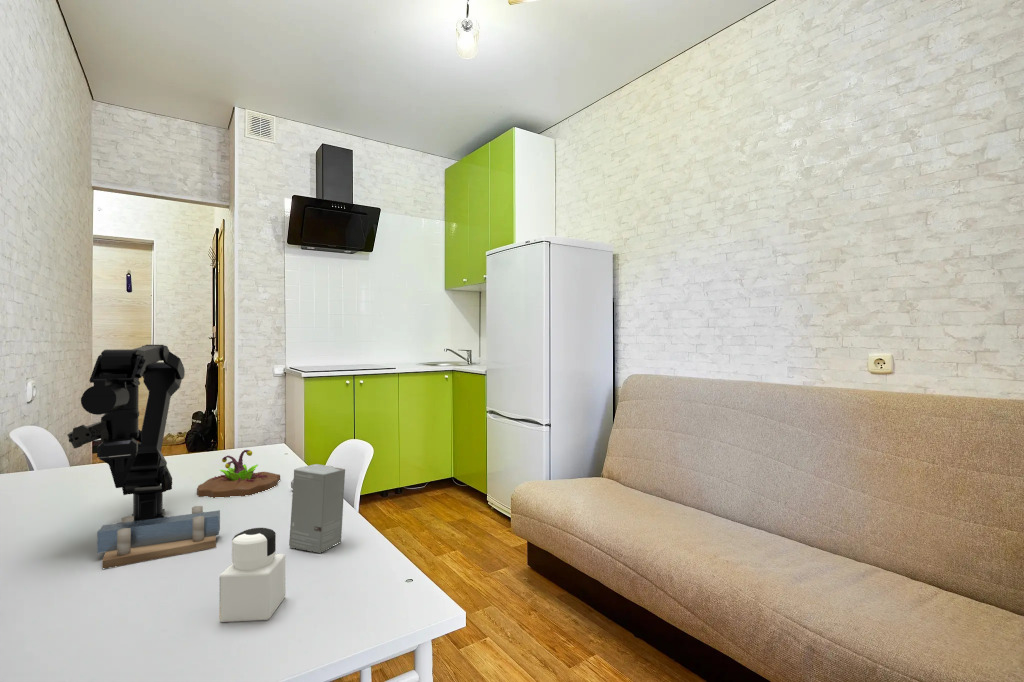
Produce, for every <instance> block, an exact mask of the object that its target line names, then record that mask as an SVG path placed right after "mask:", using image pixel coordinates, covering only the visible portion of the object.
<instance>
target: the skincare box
mask: <svg viewBox="0 0 1024 682" xmlns="http://www.w3.org/2000/svg"><path fill="white" fill-rule="evenodd" d="M345 478H346V468H342V467H336V466H334V465H326V464H325V465H324V464H319V463H315V464H310V465H307V466H301V467H297V468H295V469H293V479H294V480H293V479H292V480H293V489H292V499H291V509H290V510H291V511H290V525H289V527H290V529H289V542H288V543H289V544H288V545H289V548H291V549H295V548H296V549H295V550H302V551H306V550H307V551H306V552H312V551H313V553H317V554H322V553H323V551H324V550H326V549H328V548H330V547H332V546H333V545H335V544H337V543H339V542H341V543H342V533H343V531H342V530H343V512H344V494H345V493H344V492H345V482H346V479H345ZM332 548H333V547H332ZM330 549H331V548H330ZM328 550H329V549H328ZM326 551H327V550H326ZM321 552H322V553H321ZM324 552H325V551H324Z"/></svg>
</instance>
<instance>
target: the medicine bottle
mask: <svg viewBox="0 0 1024 682" xmlns="http://www.w3.org/2000/svg"><path fill="white" fill-rule="evenodd" d="M276 535H277V533H276V532H275V531H274V530H273V529H271V528H267V527H253V528H249V529H245V530H242V531H241V532H238V533H237V534H235V535H234V537H233V538H232V539H231V565H229V566H228V567H227V568H226V569H225V570H224V571H223V572H222V573H221V574H219V622H221V623H232V622H233V623H234V622H252V621H268V620H270V618H271V617H272V616H273V614H275V611H276V610H277V609H278V608H279V606H280V605H281V604H282V602H283V601H284V599H285V597H286V554H285V553H276V548H277V545H276V542H277V541H276V540H277V539H276Z"/></svg>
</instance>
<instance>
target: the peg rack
mask: <svg viewBox="0 0 1024 682" xmlns="http://www.w3.org/2000/svg"><path fill="white" fill-rule="evenodd" d="M203 511H204V507H203V505H197V506H196V505H195V506H192V507H191V514H195V513H203ZM132 521H134V516H131V515H128V516H123V517H122V518H121V522H120V523H124V522H132ZM215 547H216V548H217V538H216V536H210V537H204V516H198V517H194V518H193V539H189V540H182V541H175V542H169V543H162V544H155V545H148V546H141V547H134V548H131V528H123V529H120V530H118V531H117V550H114V551H107V552H104V556H103V558H102V560H101V561H102V563H101V564H102V565H101V567H102V568H101V569H102V570H104V569H103V568H107V569H110V568H109V567H112V568H116V567H115V566H117V567H121V566H128V565H133V564H137V563H144V562H147V561H152V560H158V559H163V558H167V557H169V558H170V557H174V556H179V555H184V554H191V553H194V552H195V553H196V552H200V550H201V551H205V549H206V550H210V549H216V548H215ZM127 564H128V565H127Z"/></svg>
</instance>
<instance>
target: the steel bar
mask: <svg viewBox="0 0 1024 682" xmlns="http://www.w3.org/2000/svg"><path fill="white" fill-rule="evenodd" d="M198 516H204V537H210V536H215V537H216V536H219V535H220V530H221V510H220V509H218V510H213V511H204V512H203V513H195V514H192V513H188V514H180V515H173V516H164V517H163V518H156V519H148V520H140V521H132V522H124V523H121V522H117V523H110V524H103V525H101V527H100V528H99V530H98V531H97V533H96V534H97V541H96V543H97V548H96V549H97V550H96V551H97V554H99V553H105V552H107V551H114V550H117V531H118V530H120V529H123V528H131V548H134V547H141V546H148V545H155V544H162V543H169V542H175V541H182V540H189V539H193V518H194V517H198Z"/></svg>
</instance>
